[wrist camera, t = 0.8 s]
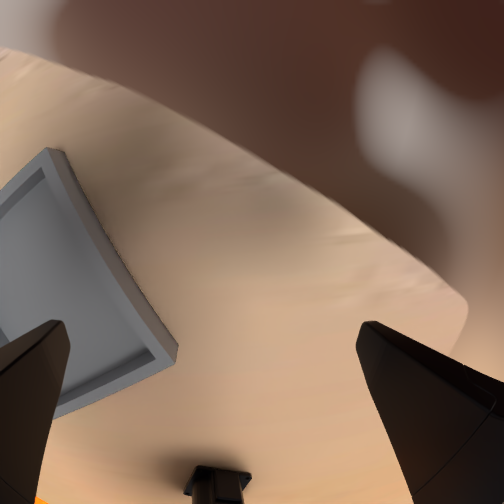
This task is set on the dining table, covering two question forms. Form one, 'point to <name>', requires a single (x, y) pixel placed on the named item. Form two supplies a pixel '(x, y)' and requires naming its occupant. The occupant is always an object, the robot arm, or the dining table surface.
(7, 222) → the tray
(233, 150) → the dining table surface
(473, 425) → the robot arm
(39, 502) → the orange juice
